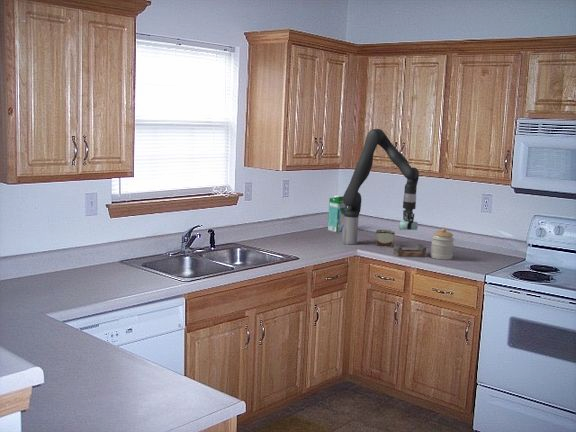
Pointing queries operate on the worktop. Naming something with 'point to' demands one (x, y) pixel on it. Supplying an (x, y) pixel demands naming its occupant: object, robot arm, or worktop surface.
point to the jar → (442, 245)
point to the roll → (404, 225)
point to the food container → (385, 237)
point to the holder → (409, 251)
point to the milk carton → (336, 214)
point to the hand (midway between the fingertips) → (407, 228)
